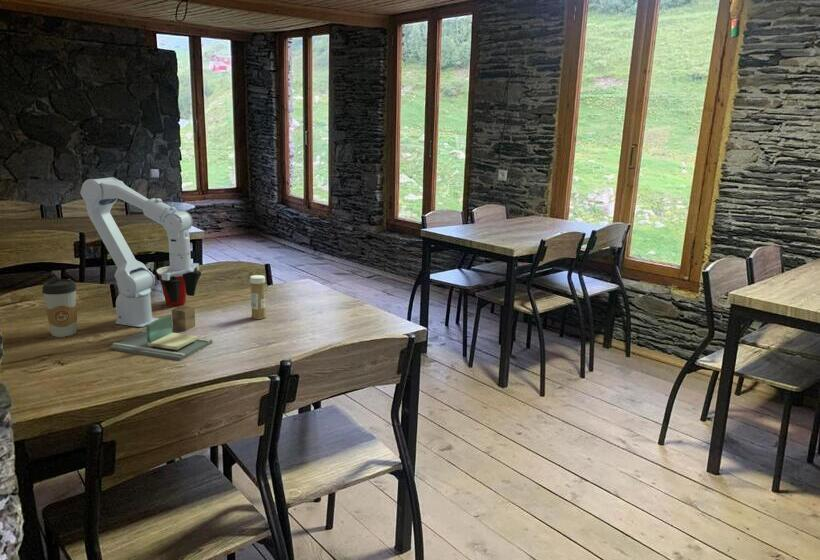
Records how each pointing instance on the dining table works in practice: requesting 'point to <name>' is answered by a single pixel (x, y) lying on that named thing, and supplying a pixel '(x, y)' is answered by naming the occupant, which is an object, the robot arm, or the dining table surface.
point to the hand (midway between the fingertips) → (182, 298)
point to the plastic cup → (181, 288)
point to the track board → (141, 347)
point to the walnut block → (183, 318)
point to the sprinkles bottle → (258, 296)
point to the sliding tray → (166, 335)
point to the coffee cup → (61, 306)
